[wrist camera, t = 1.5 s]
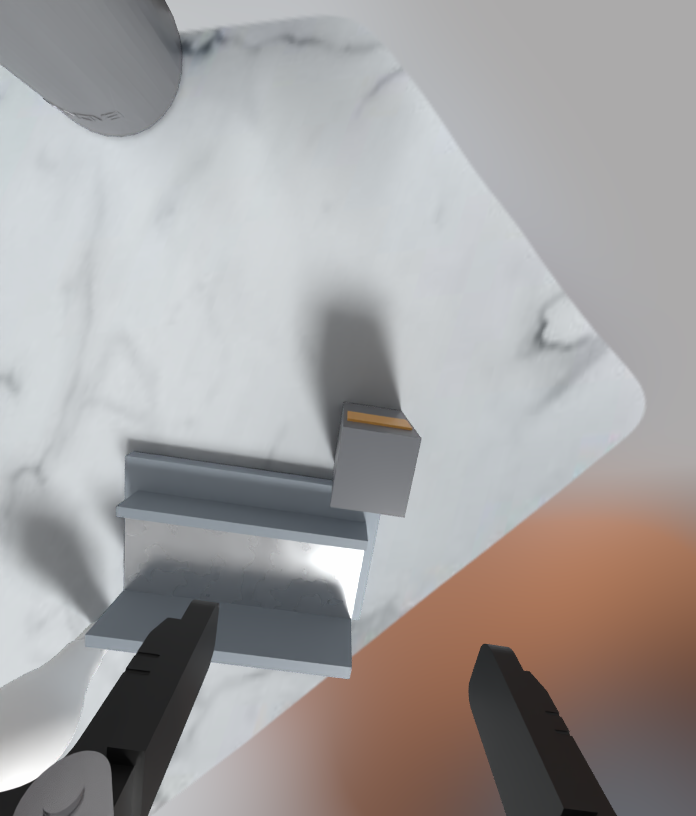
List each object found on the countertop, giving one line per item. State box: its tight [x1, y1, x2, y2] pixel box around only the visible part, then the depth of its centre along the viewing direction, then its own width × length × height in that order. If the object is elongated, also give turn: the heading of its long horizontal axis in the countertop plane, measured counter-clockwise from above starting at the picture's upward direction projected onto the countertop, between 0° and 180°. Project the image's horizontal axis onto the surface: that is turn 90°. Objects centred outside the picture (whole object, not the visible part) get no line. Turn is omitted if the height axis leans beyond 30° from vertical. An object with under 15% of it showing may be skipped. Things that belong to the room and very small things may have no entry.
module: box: [330, 402, 421, 517], centre depth 23 cm, size 5×4×7 cm
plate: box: [124, 518, 364, 619], centre depth 26 cm, size 7×18×2 cm, turn 81°
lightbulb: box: [0, 622, 107, 792], centre depth 24 cm, size 6×6×11 cm
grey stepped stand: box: [85, 451, 380, 679], centre depth 25 cm, size 12×20×6 cm, turn 81°
